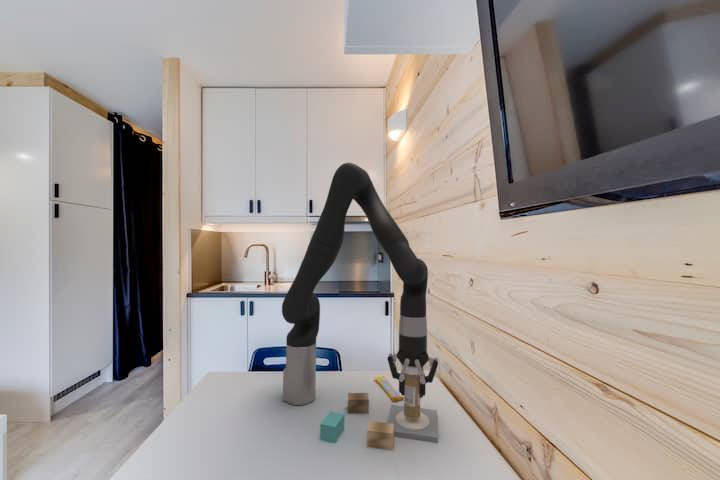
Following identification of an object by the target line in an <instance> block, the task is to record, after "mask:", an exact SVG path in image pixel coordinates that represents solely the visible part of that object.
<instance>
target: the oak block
mask: <svg viewBox="0 0 720 480" xmlns="http://www.w3.org/2000/svg"><path fill="white" fill-rule="evenodd" d="M394 438H395V436H394V424H391V423H387V422H380V421H372V420H370V421H369V424H368V427H367V446H366V447H367V448H371V449H372V448H374V449H382V450H390V451H393V449H394V442H395V441H394V440H395V439H394Z"/></svg>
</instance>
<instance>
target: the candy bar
mask: <svg viewBox="0 0 720 480" xmlns="http://www.w3.org/2000/svg"><path fill="white" fill-rule="evenodd" d="M374 380H375V382H376V383H377V385H378V386H379V387H380V388H381V389H382V390H383V392H384V393H385V394H386V395H387V397H388V398H389V399H390V400H391V402H393V403H396V402H400V401H404V396H402V395H400V394H399V393H398V392H397V391H396V390H395V388H394V387H393V386H392V385H391V383H389V381H388V380H387V378H386V376H383V375H382V376H377V377H374Z"/></svg>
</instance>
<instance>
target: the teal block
mask: <svg viewBox="0 0 720 480" xmlns="http://www.w3.org/2000/svg"><path fill="white" fill-rule="evenodd" d="M319 424H320V429H319V430H320V431H319V440H321V441H325V442H329V443H332V444H335V443H336V442H337V441H338V439H339V438H340V436H341V435H342V433H343V432H344V430H345V413H340V412H335V411H329V412H328V413H327V415H326V416H325V417H324V419H323V420H322V421H321V422H320V423H319Z"/></svg>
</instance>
